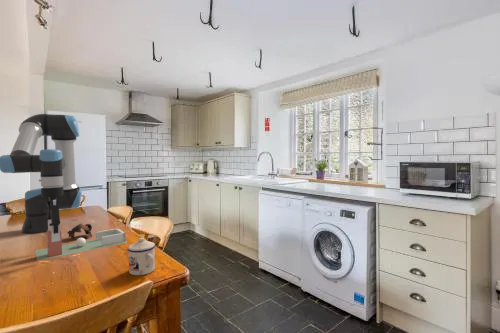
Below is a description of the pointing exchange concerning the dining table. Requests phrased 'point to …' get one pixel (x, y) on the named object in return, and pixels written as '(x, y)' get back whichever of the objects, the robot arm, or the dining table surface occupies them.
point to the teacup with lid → (141, 257)
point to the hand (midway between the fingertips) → (54, 237)
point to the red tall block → (53, 244)
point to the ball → (80, 242)
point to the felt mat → (73, 249)
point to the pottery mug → (86, 228)
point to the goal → (110, 236)
